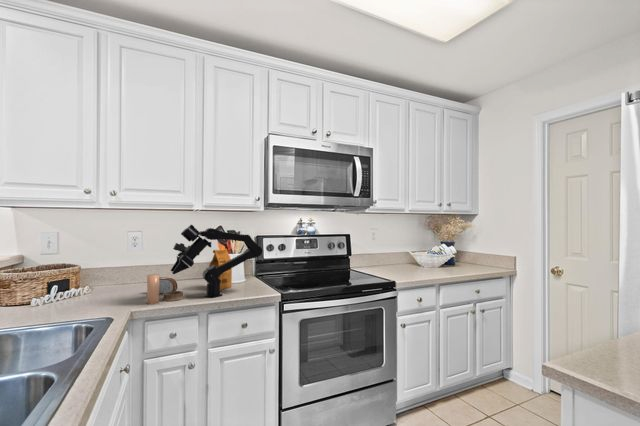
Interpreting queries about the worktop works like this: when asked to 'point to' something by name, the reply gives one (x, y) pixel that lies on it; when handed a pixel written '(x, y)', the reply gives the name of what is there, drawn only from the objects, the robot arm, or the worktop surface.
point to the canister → (153, 289)
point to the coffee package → (217, 260)
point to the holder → (173, 296)
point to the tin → (167, 285)
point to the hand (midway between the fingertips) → (172, 272)
